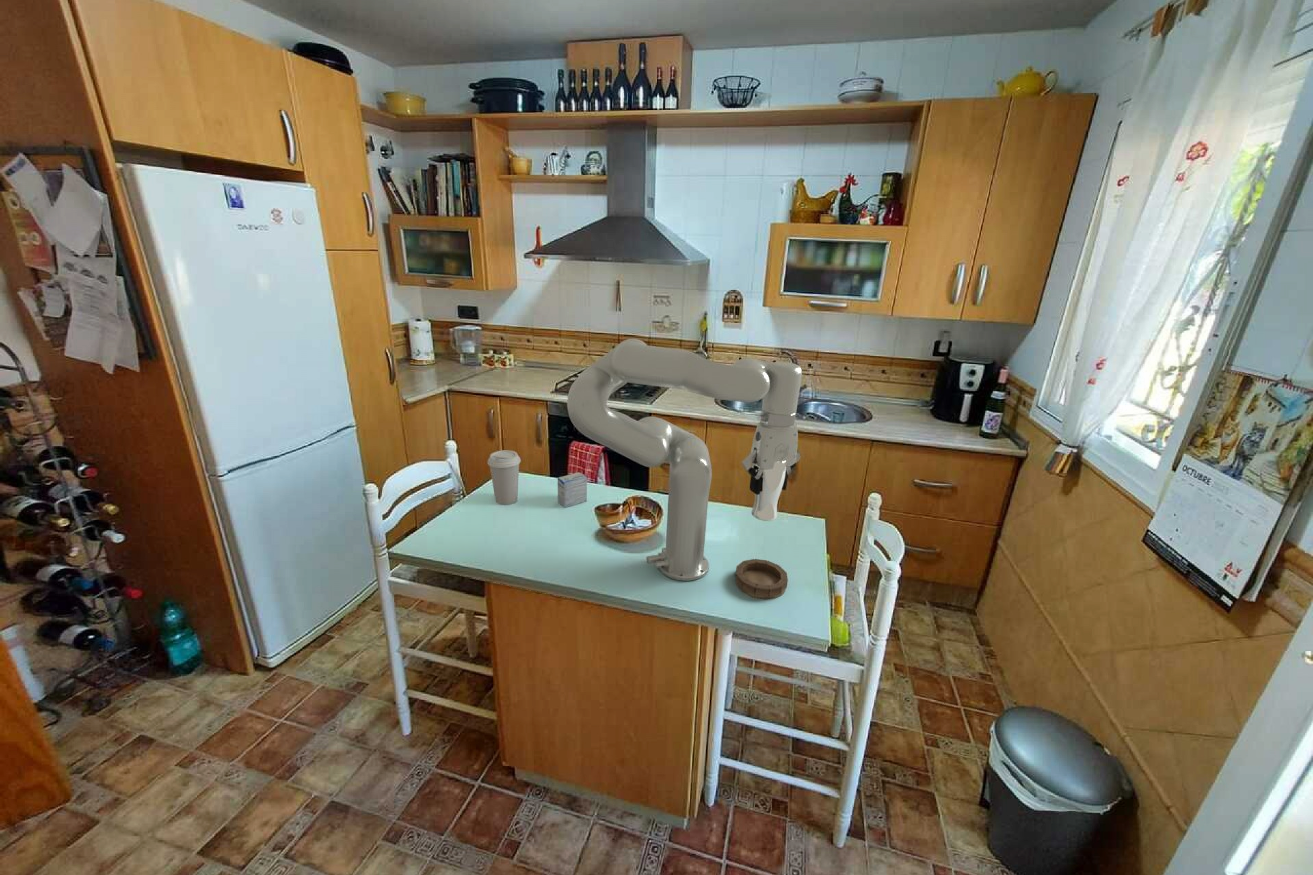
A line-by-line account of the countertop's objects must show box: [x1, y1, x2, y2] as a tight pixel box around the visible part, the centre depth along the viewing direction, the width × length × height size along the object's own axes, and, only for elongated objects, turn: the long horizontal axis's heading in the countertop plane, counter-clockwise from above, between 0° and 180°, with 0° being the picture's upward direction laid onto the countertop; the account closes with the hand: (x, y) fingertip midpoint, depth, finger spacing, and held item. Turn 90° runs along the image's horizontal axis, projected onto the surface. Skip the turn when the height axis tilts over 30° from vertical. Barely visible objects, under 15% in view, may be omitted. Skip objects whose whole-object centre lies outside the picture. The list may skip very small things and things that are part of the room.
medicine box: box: [557, 472, 588, 509], centre depth 158 cm, size 8×4×9 cm, turn 130°
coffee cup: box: [487, 449, 522, 506], centre depth 156 cm, size 10×10×15 cm
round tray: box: [734, 558, 789, 600], centre depth 124 cm, size 12×12×3 cm
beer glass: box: [751, 461, 786, 522], centre depth 121 cm, size 7×7×15 cm
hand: (767, 489), depth 122 cm, fingers closed on beer glass, 6 cm apart
